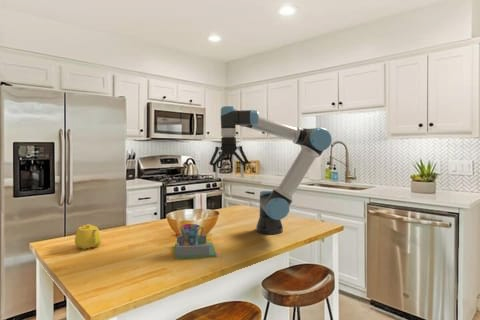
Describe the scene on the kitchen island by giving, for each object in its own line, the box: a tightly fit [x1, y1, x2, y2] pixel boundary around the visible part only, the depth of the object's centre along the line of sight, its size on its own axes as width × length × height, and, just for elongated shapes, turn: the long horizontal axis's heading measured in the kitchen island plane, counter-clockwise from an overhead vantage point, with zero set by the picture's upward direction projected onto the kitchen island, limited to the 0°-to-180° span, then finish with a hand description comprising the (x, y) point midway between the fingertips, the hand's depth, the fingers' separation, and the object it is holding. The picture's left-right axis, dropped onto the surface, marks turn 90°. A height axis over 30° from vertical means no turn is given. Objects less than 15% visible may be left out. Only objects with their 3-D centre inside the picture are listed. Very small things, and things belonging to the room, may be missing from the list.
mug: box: [179, 223, 204, 246], centre depth 149 cm, size 12×9×11 cm
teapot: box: [74, 223, 102, 251], centre depth 153 cm, size 18×11×11 cm, turn 42°
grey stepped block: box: [174, 233, 217, 260], centre depth 149 cm, size 18×18×5 cm
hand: (229, 178), depth 167 cm, fingers open, 13 cm apart
